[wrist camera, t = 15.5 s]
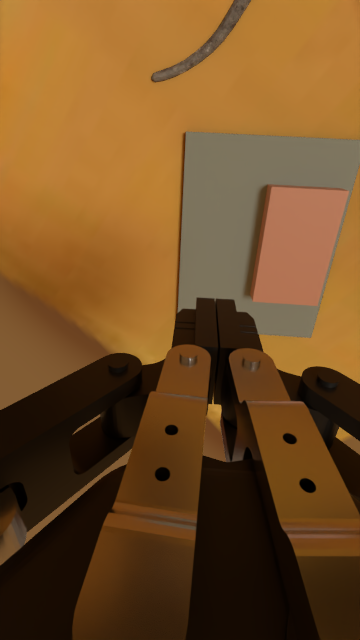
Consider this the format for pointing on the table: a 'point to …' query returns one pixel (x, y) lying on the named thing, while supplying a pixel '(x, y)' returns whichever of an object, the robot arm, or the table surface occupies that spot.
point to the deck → (296, 243)
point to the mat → (249, 215)
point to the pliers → (208, 48)
